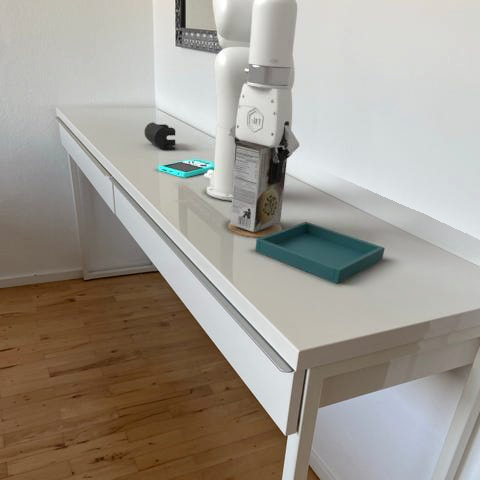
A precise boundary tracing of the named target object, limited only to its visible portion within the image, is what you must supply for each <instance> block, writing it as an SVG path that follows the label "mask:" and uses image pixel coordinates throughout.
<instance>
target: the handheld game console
mask: <svg viewBox="0 0 480 480" xmlns="http://www.w3.org/2000/svg"><path fill="white" fill-rule="evenodd" d="M209 169H211V170H214V162H213V161H209V160H205V159H201V158H189V159H186V160H180V161H176V162H175V161H174V162H171V163H166V164H161V165H158V169H157V170H158V172H159V171H160V172H162V173H166V174H170V175H174V176H177V177H181V178H190V177H193V176H197V175H201V174H205V173H207V171H208V170H209Z"/></svg>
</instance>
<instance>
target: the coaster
mask: <svg viewBox="0 0 480 480" xmlns="http://www.w3.org/2000/svg"><path fill="white" fill-rule="evenodd" d="M228 229H229V230H230V231H232V232H233V233H236V234H238V235H241V236H245V237H250V238H261V237H264V236H267V235H270V234H272V233H275V232H278V231H281V230H283V227H282V225H280V224H279V223H277V224H274V225H271V226H269V227H266V228H264V229H261V230H259V231H256V232H252V231H249V230H246V229H243V228H240V227H238V226H235V225H232V224H231V221H229V223H228Z"/></svg>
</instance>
